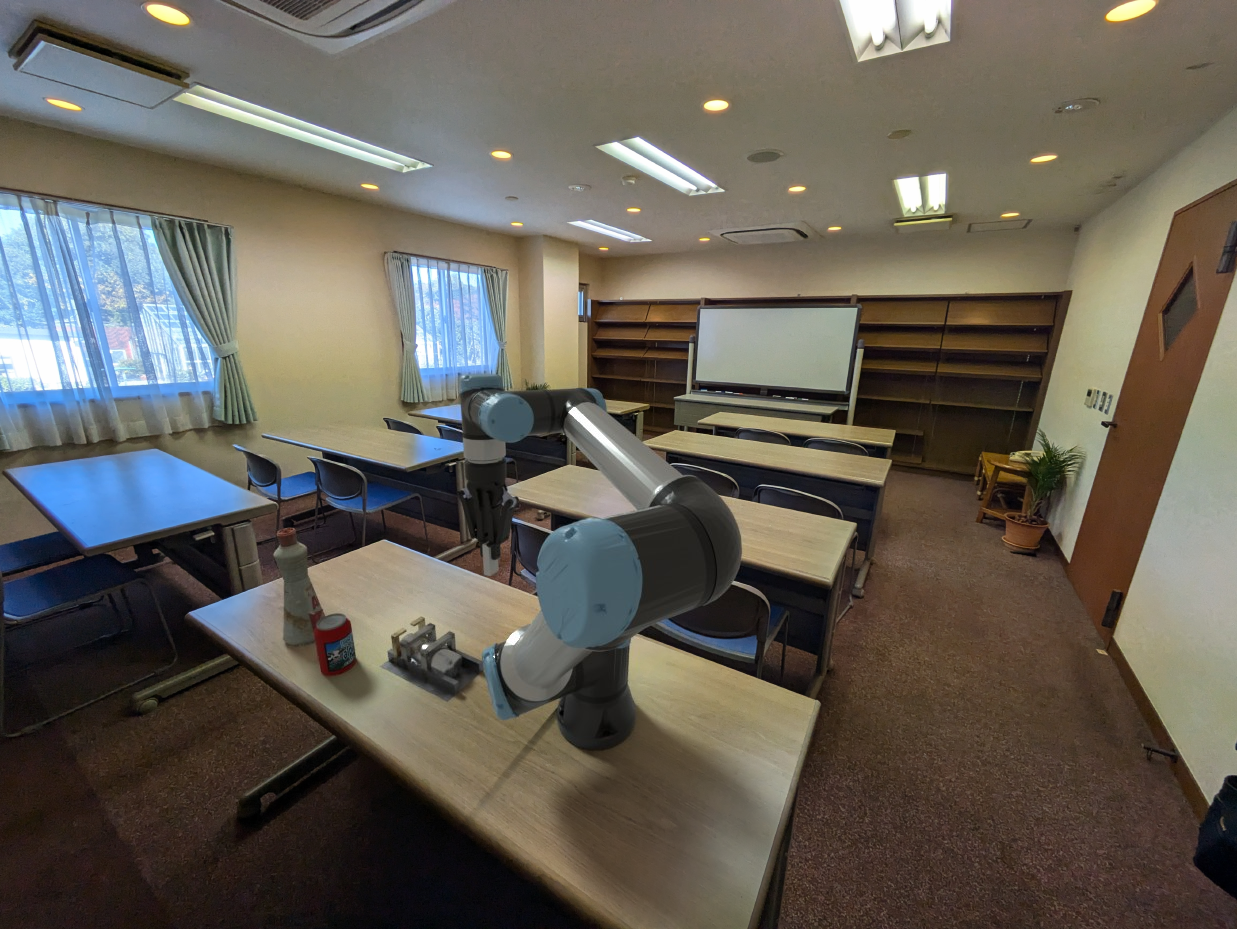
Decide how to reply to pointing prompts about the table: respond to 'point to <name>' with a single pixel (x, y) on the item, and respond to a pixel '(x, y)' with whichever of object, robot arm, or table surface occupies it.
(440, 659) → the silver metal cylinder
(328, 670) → the beverage can
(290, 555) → the bottle
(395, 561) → the table surface
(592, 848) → the table surface
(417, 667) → the grey slotted rack
